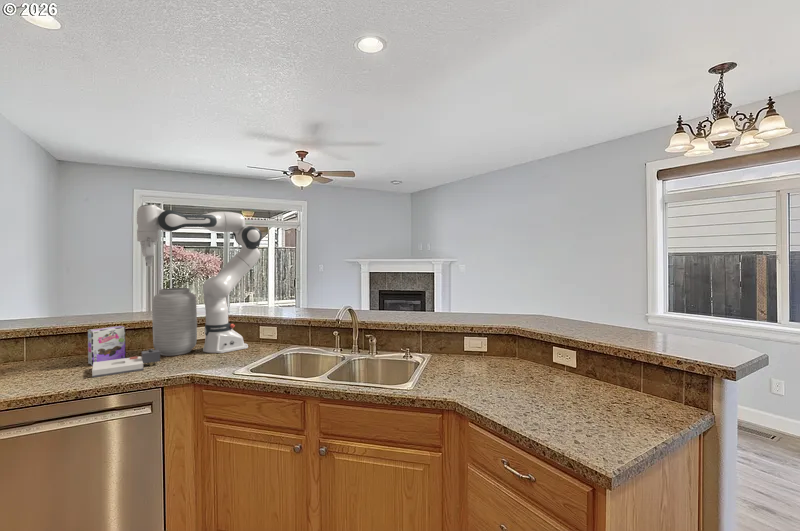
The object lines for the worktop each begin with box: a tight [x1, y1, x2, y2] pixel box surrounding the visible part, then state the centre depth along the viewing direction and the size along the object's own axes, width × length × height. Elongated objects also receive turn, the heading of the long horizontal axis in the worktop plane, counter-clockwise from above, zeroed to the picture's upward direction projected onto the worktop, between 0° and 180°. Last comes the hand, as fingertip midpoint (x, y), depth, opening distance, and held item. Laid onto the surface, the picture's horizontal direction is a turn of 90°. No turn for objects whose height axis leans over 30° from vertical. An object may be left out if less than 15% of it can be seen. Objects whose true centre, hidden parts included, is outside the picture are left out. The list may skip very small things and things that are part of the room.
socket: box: [91, 355, 144, 379], centre depth 178 cm, size 18×16×4 cm
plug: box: [141, 348, 161, 366], centre depth 186 cm, size 7×6×7 cm
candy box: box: [87, 325, 127, 367], centre depth 191 cm, size 14×6×16 cm, turn 143°
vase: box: [151, 287, 198, 357], centre depth 209 cm, size 20×20×34 cm
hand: (148, 266), depth 195 cm, fingers open, 8 cm apart
